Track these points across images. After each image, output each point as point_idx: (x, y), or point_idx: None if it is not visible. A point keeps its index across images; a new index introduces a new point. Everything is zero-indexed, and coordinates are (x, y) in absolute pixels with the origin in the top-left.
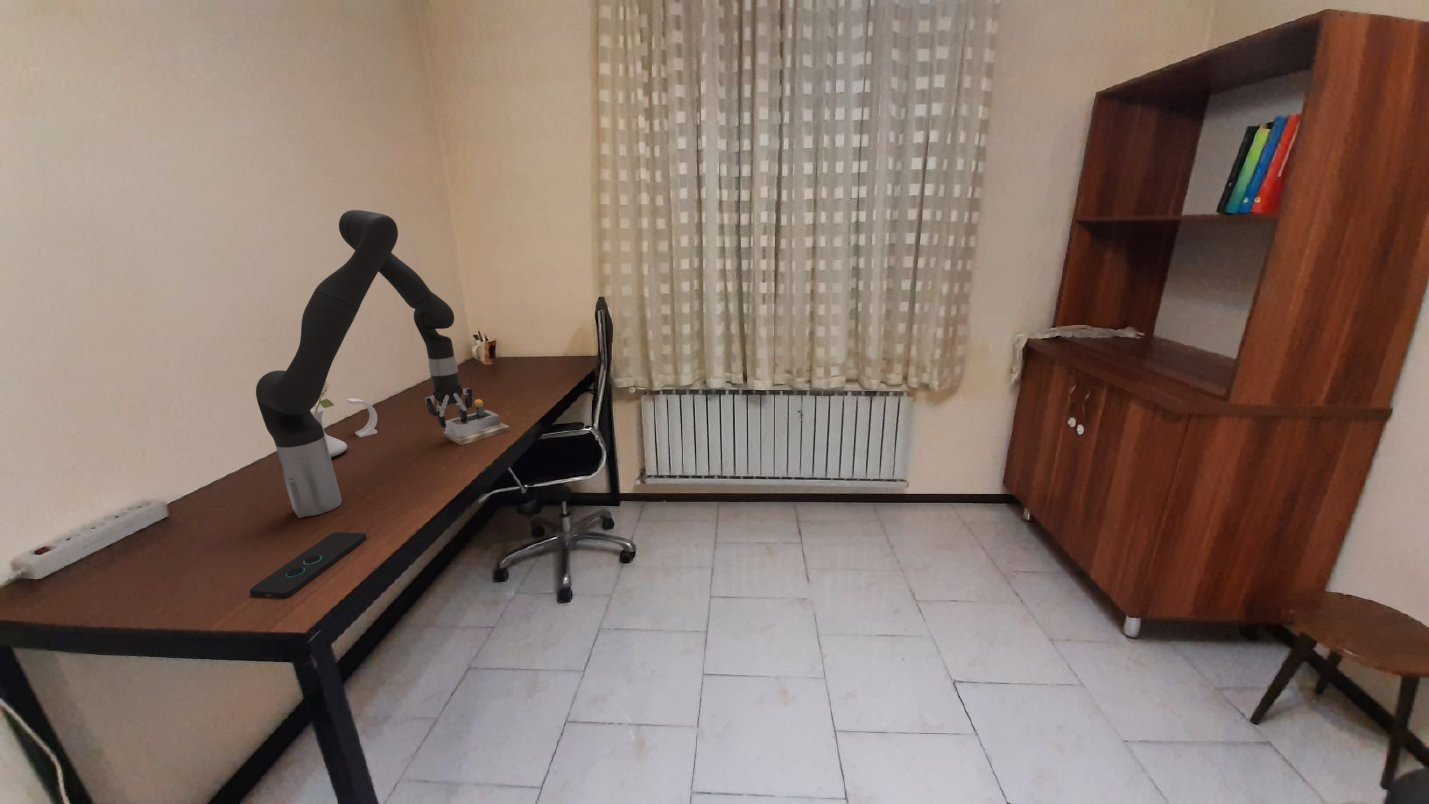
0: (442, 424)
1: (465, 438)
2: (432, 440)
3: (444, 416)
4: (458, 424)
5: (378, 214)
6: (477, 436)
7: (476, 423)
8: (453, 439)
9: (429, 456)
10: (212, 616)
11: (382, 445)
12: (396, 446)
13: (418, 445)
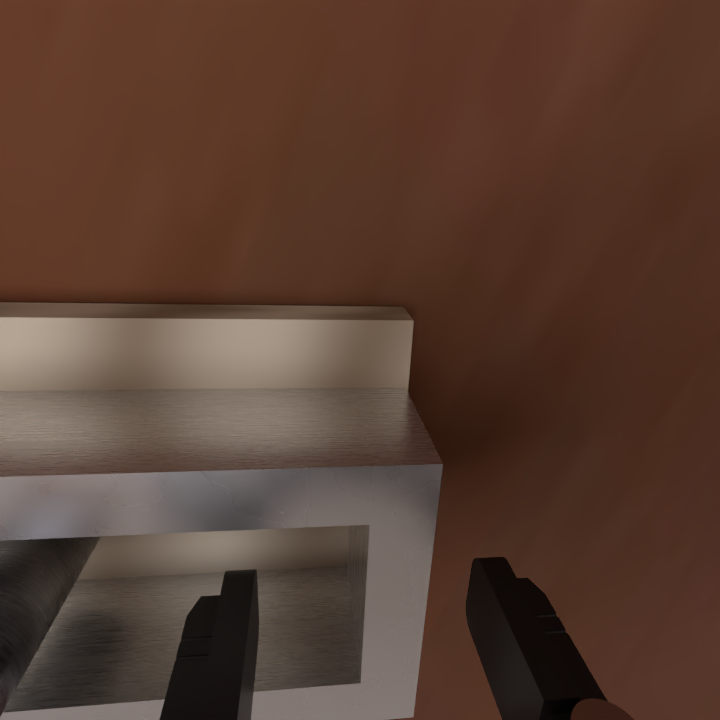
0: (527, 599)
1: (336, 339)
2: None
3: (543, 697)
4: (360, 515)
5: None
6: (207, 317)
7: (127, 451)
8: None
9: (696, 268)
10: None
11: (689, 696)
12: (664, 634)
13: (586, 560)
